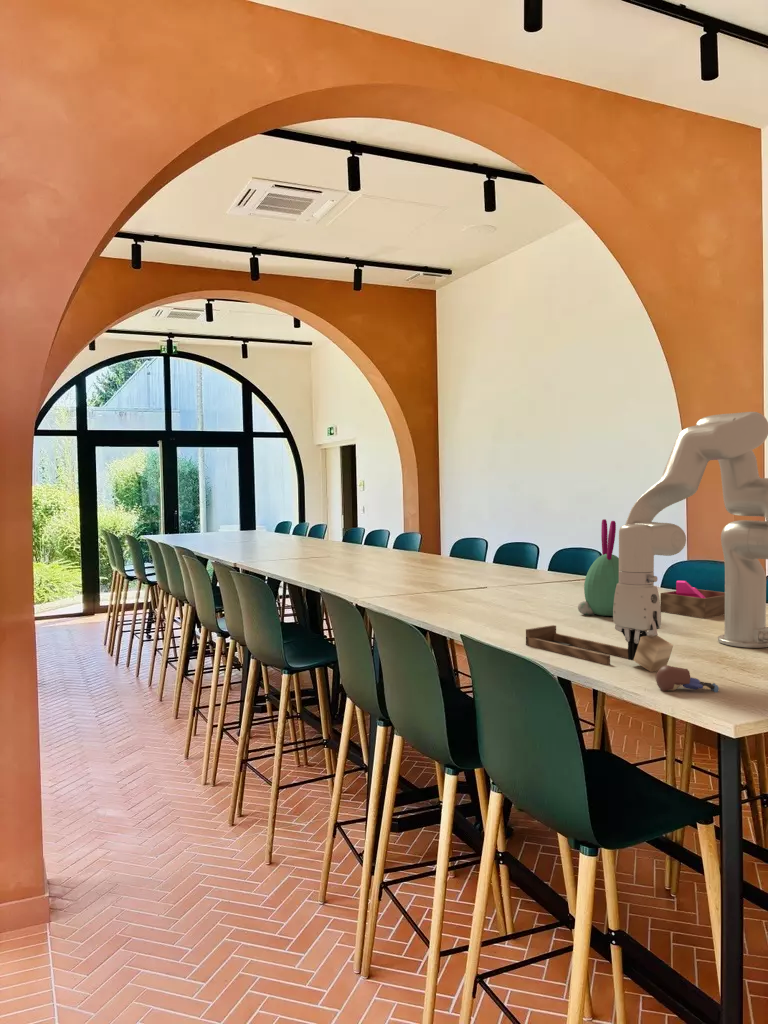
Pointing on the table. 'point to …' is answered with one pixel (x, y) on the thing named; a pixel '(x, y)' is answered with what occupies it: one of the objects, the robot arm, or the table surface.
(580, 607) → the toy
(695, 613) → the display box
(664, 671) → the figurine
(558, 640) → the channel
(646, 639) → the block
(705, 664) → the table surface
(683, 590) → the bracket
